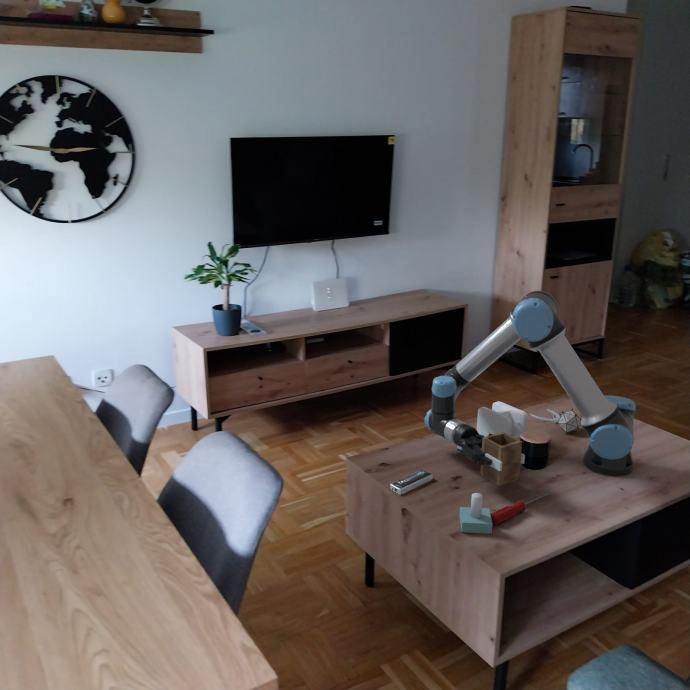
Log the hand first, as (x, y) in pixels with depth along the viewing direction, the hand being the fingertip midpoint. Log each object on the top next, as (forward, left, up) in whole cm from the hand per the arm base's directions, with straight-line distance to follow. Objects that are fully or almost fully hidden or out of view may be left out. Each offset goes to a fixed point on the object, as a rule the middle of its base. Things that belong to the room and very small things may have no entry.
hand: (512, 463), depth 205 cm
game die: (-28, -49, -12) cm, 57 cm away
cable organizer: (-3, -40, -12) cm, 41 cm away
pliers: (-25, -60, -12) cm, 66 cm away
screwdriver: (-3, +7, -12) cm, 14 cm away
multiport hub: (+29, -5, -12) cm, 31 cm away
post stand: (+11, +16, -11) cm, 22 cm away
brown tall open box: (+3, -4, -7) cm, 8 cm away
